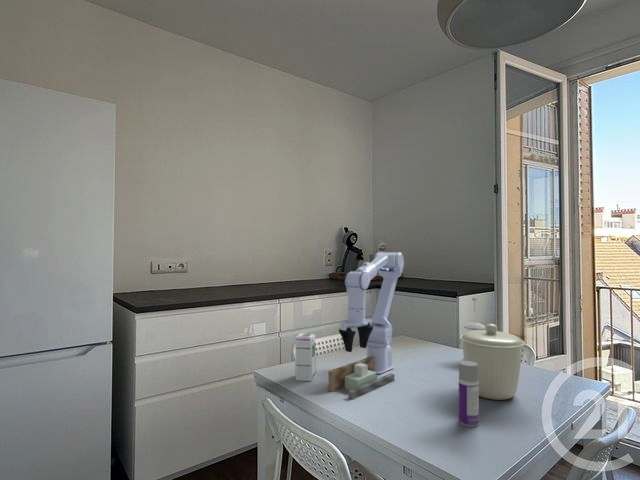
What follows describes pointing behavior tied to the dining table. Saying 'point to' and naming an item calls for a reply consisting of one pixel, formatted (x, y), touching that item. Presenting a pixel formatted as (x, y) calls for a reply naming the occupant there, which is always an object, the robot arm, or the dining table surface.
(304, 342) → the syrup box
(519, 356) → the canister
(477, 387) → the container
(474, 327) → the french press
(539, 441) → the dining table surface
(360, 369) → the mint block with knob
